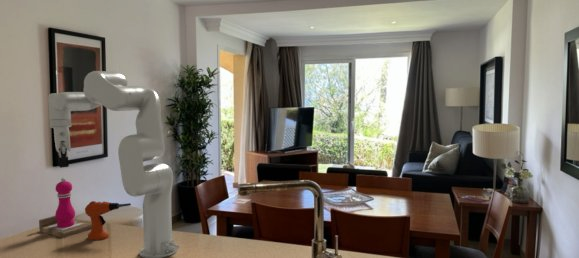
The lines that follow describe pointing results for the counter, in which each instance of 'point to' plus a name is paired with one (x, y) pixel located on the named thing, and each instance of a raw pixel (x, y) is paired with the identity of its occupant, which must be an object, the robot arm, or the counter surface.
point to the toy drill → (99, 217)
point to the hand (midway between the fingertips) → (63, 165)
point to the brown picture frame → (51, 227)
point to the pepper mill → (64, 205)
